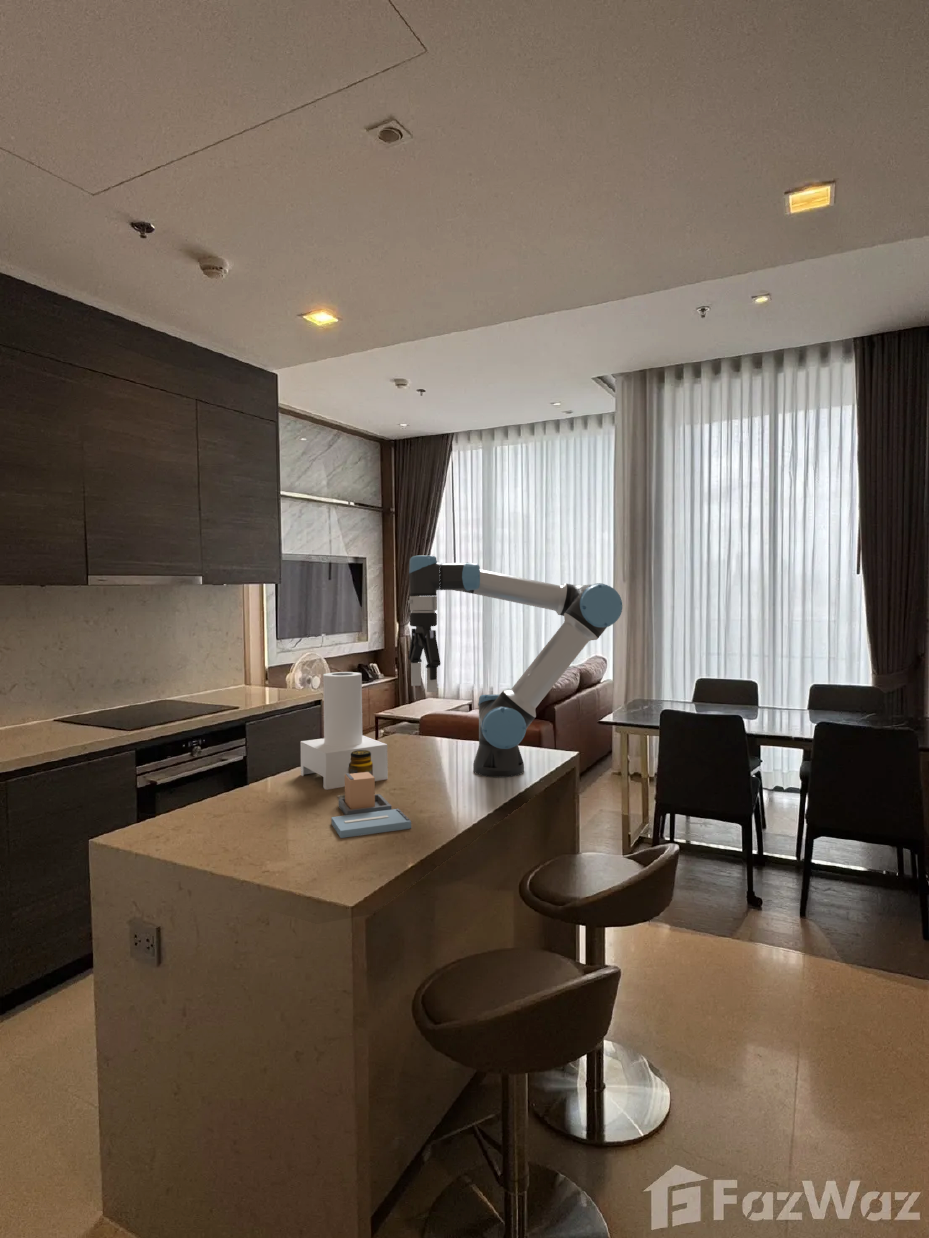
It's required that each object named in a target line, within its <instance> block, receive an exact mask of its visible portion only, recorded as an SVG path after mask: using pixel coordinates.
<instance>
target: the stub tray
mask: <svg viewBox="0 0 929 1238" xmlns="http://www.w3.org/2000/svg"><path fill="white" fill-rule="evenodd" d="M338 808H339V809H340V811H341V812H342V813H343V816H345V815H352V814H360V813H368V812H376V811H384V810H392V804H391V803H390V802H388V800H387V799H386V798H385V797H383V795H382V794H380V793H377V794H376V793H375V807H368V808H360V809H352V810H350V808H349V807H348V806H347V805H346V803H345V798H341V799H340V798H338Z"/></svg>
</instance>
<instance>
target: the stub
mask: <svg viewBox="0 0 929 1238" xmlns="http://www.w3.org/2000/svg"><path fill="white" fill-rule="evenodd" d="M375 782H376V781H375V778H374V777H373V776H372V775H371V774H370V773H369V772H362V773H353V774H349V773H348V774H345V786H344V795H345V803H346V805H347V806H348V807H349V808H350V810H352V809H360V808H368V807H375V794H376V788H375V785H376V783H375Z"/></svg>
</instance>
